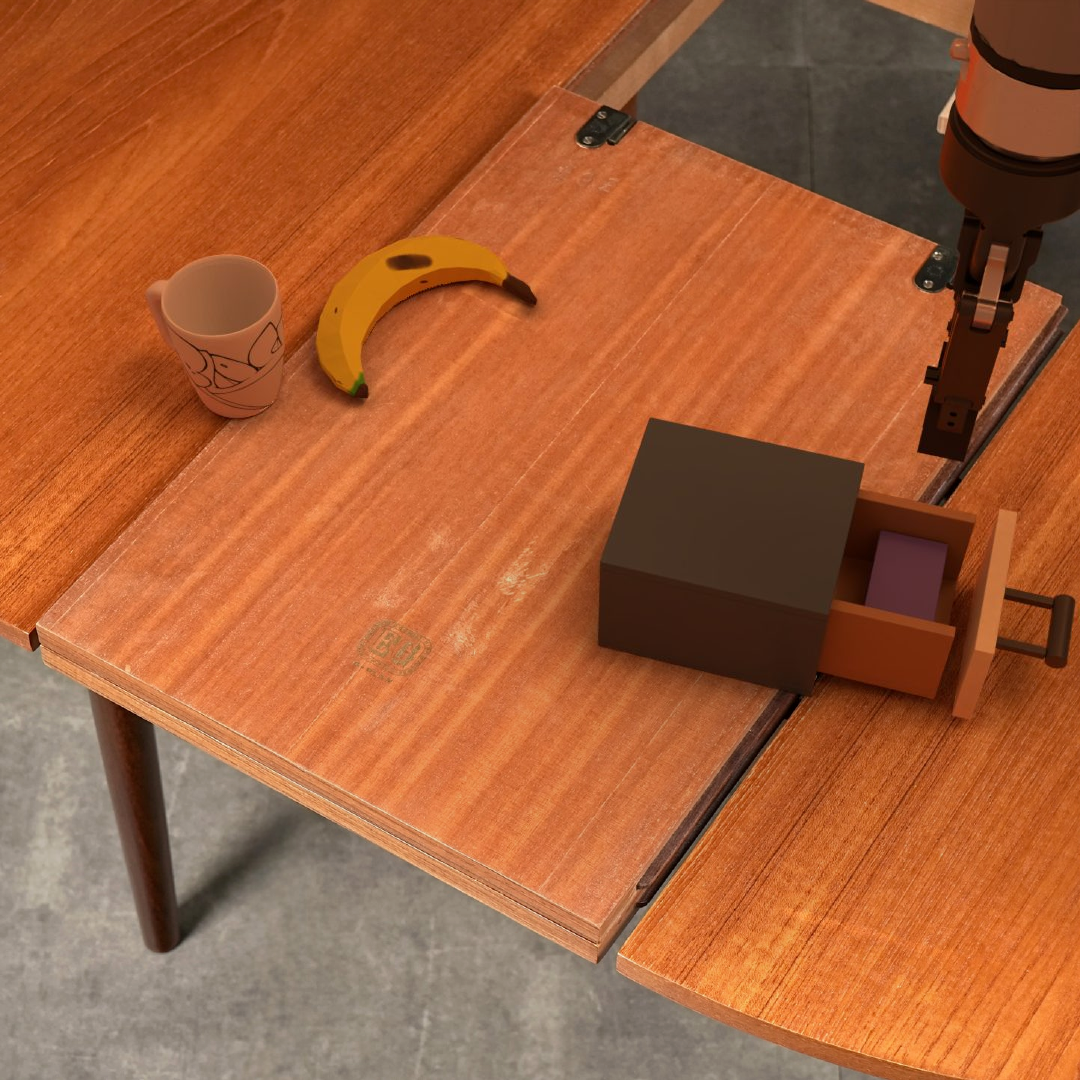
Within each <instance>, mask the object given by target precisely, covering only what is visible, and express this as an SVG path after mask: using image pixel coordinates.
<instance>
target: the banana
mask: <svg viewBox="0 0 1080 1080" xmlns="http://www.w3.org/2000/svg"><path fill="white" fill-rule="evenodd" d="M475 280H476V281H481V282H487V283H491V284H494V285H497V286H500V287H501V288H504V289H505V290H507V291H508V292H510V293H511V294H512V295H514V296H516V297H518V298H520V299H521V300H523V301H525V302H526V303H529V304H530V305H533V306H537V303H538V298H537V297H536V296H535V294H534V292H533V291H532V289H531V286H530V285H528V284H527V283H526V282H525V281H523V280H522V279H519V278H518V277H515V276H513V275H512V274H511V273H510V270H509V268H508V267H507V265H506V263H505V262H504V260H502V258H500V257H499V256H498V255H497V254H495V253H494V252H493V251H492V250H490V249H489V248H488V247H486V246H483V245H481V244H478V243H476V242H473V241H470V240H468V239H465V238H462V237H455V236H447V235H441V234H433V233H432V234H426V235H421V236H414V237H407V238H403V239H399V240H396V241H395V242H393V243H390V244H388V245H386V246H385V247H382V248H380V249H378V250H376V251H374V252H372V253H369V254H368V255H366V256H364V257H362V258H361V259H360V261H358V262H357V263H356V264H355V265H354V266H353V267H352V268H351V269H350V270H349V271H348V272H347V273H345V275H344V276H343V277H341V279H340V280H339V281H338V282H337V283H336V284H335V285H334V286H333V288H332V290H331V292H330V293H329V294H330V295H329V296H328V298H327V300H326V302H325V304H324V307H323V309H322V311H321V313H320V316H319V321H318V327H317V332H316V337H315V344H314V345H315V350H316V353H317V358H318V363H319V366H320V367H321V369H322V370H323V371H324V373H325V374H326V375H327V377H328V378H329V380H331V382H332V383H333V385H334V386H335V387H336V388H338V389H340V390H341V391H344V392H345V393H347V394H349V395H350V396H352V397H354V398H356V399H363V400H364V399H365V400H366V399H368V398H369V396H370V395H369V385H367V384H366V380H365V376H364V375H365V374H364V370H363V364H362V350H363V348H364V345H365V343H364V342H367V340H368V338H369V337H370V335H371V333H372V332H371V331H373V330H374V328H375V327H374V326H376V325H377V323H378V322H379V321H380V320H381V319H382V318H383V317H384V316H385V315H386V314H387V313H389V312H390V311H391V310H392V309H393V308H394V307H395V306H396V305H397V304H399V303H400V301H401V302H403V301H404V300H407V299H408V298H410V297H412V296H414V295H415V294H417V293H419V291H420V292H422V290H423V291H426V290H428V289H427V288H429V289H431V288H430V287H432V288H435V287H437V286H436V285H439V286H442V285H441V284H443V285H447V284H451V282H452V283H456V282H465V281H466V282H467V281H475ZM434 286H435V287H434ZM425 289H426V290H425ZM413 294H414V295H413ZM411 295H412V296H411ZM409 296H410V297H409ZM407 297H408V298H407ZM402 300H403V301H402ZM398 302H399V303H398ZM396 303H397V304H396ZM394 305H395V306H394ZM393 306H394V307H393ZM392 307H393V308H392ZM391 308H392V309H391ZM390 309H391V310H390ZM389 310H390V311H389ZM386 312H387V313H386ZM385 313H386V314H385ZM384 314H385V315H384ZM383 315H384V316H383ZM382 316H383V317H382ZM381 317H382V318H381ZM380 318H381V319H380ZM379 319H380V320H379ZM378 320H379V321H378ZM377 321H378V322H377ZM376 322H377V323H376ZM375 324H376V325H375ZM373 327H374V328H373ZM372 329H373V330H372ZM370 332H371V333H370ZM369 334H370V335H369ZM366 339H367V340H366ZM363 344H364V345H363ZM361 349H362V350H361Z"/></svg>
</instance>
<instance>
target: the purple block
mask: <svg viewBox="0 0 1080 1080" xmlns="http://www.w3.org/2000/svg"><path fill="white" fill-rule="evenodd" d="M947 549H948V544H944V543H939V542H935V541H930V540H925V539H921V538H916V537H912V536H907V535H902V534H898V533H893V532H888V531H884V530H881V531H880V534H879V538H878V542H877V546H876V551H875V555H874V559H873V563H872V567H871V572H870V577H869V581H868V586H867V590H866V595H865V599H864V604H863V606H866V607H871V608H875V609H879V610H884V611H888V612H892V613H897V614H901V615H905V616H910V617H914V618H918V619H923V620H927V621H931V622H934V619H935V614H936V609H937V603H938V598H939V592H940V587H941V582H942V576H943V571H944V566H945V560H946V555H947Z"/></svg>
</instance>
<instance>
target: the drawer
mask: <svg viewBox="0 0 1080 1080" xmlns="http://www.w3.org/2000/svg"><path fill="white" fill-rule="evenodd" d="M977 517H978V516H977V514H976V513H972V512H968V511H963V510H958V509H954V508H949V507H945V506H940V505H935V504H931V503H926V502H922V501H916V500H913V499H908V498H903V497H899V496H894V495H891V494H885V493H881V492H876V491H871V490H866V489H862V488H860V489H859V492H858V496H857V500H856V504H855V508H854V513H853V517H852V521H851V525H850V529H849V534H848V538H847V542H846V546H845V550H844V554H843V559H842V563H841V567H840V571H839V575H838V579H837V584H836V588H835V592H834V596H833V600H832V605H831V609H830V613H829V618H828V622H827V627H826V631H825V636H824V641H823V645H822V650H821V655H820V659H819V664H818V669H817V673H818V672H819V673H824V674H827V675H830V676H835V677H839V678H843V679H848V680H852V681H857V682H861V683H864V684H869V685H873V686H877V687H881V688H885V689H890V690H894V691H898V692H902V693H906V694H911V695H915V696H918V697H924V698H928V699H931V700H935V697H936V695H937V691H938V689H939V685H940V682H941V679H942V677H943V673H944V670H945V667H946V665H947V661H948V658H949V655H950V652H951V648H952V645H953V642H954V639H955V634H956V630H957V627H956V626H953V625H950V621H951V617H952V611H953V606H954V599H955V594H956V588H957V583H958V579H959V576H960V573H961V570H962V567H963V564H964V560H965V558H966V554H967V551H968V548H969V545H970V541H971V538H972V535H973V532H974V528H975V526H976V522H977ZM1017 520H1018V512H1017V511H1013V510H1008V509H1004V508H999V509H998V511H997V515H996V517H995V521H994V524H993V527H992V530H991V532H990V536H989V539H988V542H987V545H986V548H985V551H984V554H983V556H982V559H981V563H980V566H979V569H978V572H977V575H976V579H975V583H974V590H973V594H972V599H971V600H972V601H971V606H970V612H969V616H968V623H967V630H966V633H965V634H966V635H965V640H964V645H963V651H962V657H961V661H960V662H961V663H960V667H959V673H958V677H957V685H956V690H955V695H954V701H953V707H952V713H951V716H952V717H957V718H960V719H966V720H971V719H972V716H973V714H974V712H975V709H976V706H977V703H978V700H979V697H980V694H981V692H982V689H983V686H984V684H985V681H986V678H987V675H988V674H989V673H988V672H989V670H990V668H991V664H992V662H993V658H994V656H995V653H996V649H997V650H1001V651H1005V652H1009V653H1010V652H1011V653H1014V654H1018V655H1023V656H1028V657H1031V658H1036V659H1040V660H1043V661H1044V664H1045V665H1046V666H1047V667H1049V668H1051V669H1057V670H1059V669H1064V668H1066V666H1067V665H1068V661H1069V652H1070V648H1071V647H1070V645H1071V639H1072V631H1073V623H1074V615H1075V608H1076V599H1075V598H1074V597H1073V596H1072V595H1069V594H1064V593H1059V594H1057V595H1055V596H1053V597H1052V596H1047V595H1042V594H1038V593H1034V592H1029V591H1024V590H1019V589H1015V588H1012V587H1007V580H1008V574H1009V569H1010V564H1011V563H1010V562H1011V557H1012V550H1013V544H1014V539H1015V533H1016V527H1017ZM881 530H884V531H888V532H893V533H898V534H902V535H907V536H912V537H916V538H921V539H925V540H930V541H935V542H939V543H944V544H948V549H947V555H946V560H945V566H944V571H943V576H942V582H941V587H940V592H939V598H938V603H937V609H936V614H935V619H934V622H931V621H927V620H923V619H918V618H914V617H910V616H905V615H901V614H897V613H892V612H888V611H884V610H879V609H875V608H871V607H866V606H863V604H864V599H865V595H866V590H867V586H868V581H869V577H870V572H871V567H872V563H873V559H874V555H875V551H876V546H877V542H878V538H879V534H880V531H881ZM1004 600H1005V601H1009V602H1014V603H1018V604H1024V605H1027V606H1031V607H1036V608H1041V609H1045V610H1049V611H1050V618H1049V625H1048V631H1047V638H1046V646H1041V645H1036V644H1032V643H1028V642H1023V641H1019V640H1016V639H1011V638H1006V637H1003V636H999V635H998V634H999V629H1000V623H1001V617H1002V611H1003V606H1004V605H1003V604H1004Z"/></svg>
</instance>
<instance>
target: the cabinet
mask: <svg viewBox="0 0 1080 1080" xmlns="http://www.w3.org/2000/svg"><path fill="white" fill-rule="evenodd" d="M865 466H866V463H865V462H860V461H855V460H851V459H847V458H842V457H838V456H832V455H828V454H823V453H818V452H814V451H809V450H806V449H805V450H804V449H801V448H796V447H791V446H787V445H781V444H777V443H773V442H767V441H762V440H758V439H753V438H750V437H744V436H740V435H735V434H731V433H726V432H721V431H716V430H711V429H706V428H703V427H697V426H693V425H689V424H684V423H679V422H674V421H670V420H665V419H660V418H655V417H651V416H649V418H648V421H647V425H646V427H645V430H644V433H643V435H642V438H641V441H640V444H639V447H638V450H637V453H636V456H635V459H634V462H633V464H632V467H631V470H630V473H629V476H628V479H627V481H626V485H625V488H624V491H623V493H622V497H621V499H620V502H619V505H618V508H617V511H616V513H615V517H614V520H613V522H612V524H611V525H612V526H611V528H610V531H609V534H608V537H607V540H606V542H605V544H604V545H605V546H604V548H603V550H602V551H603V552H602V554H601V558H600V559H599V560H600V561H599V575H598V576H599V580H598V615H597V616H598V617H597V618H598V622H597V646H599V647H601V648H606V649H607V648H608V649H611V650H614V651H619V652H623V653H628V654H632V655H636V656H640V657H644V658H648V659H652V660H656V661H660V662H665V663H669V664H673V665H677V666H682V667H685V668H689V669H693V670H698V671H702V672H706V673H711V674H714V675H719V676H722V677H725V678H731V679H735V680H739V681H743V682H746V683H752V684H756V685H760V686H763V687H767V688H772V689H777V690H779V691H783V692H788V693H791V694H797V695H802V696H805V697H808V698H809V697H812V695H813V691H814V686H815V683H816V682H815V681H816V678H817V674H818V671H817V669H818V664H819V659H820V655H821V650H822V645H823V641H824V636H825V631H826V627H827V622H828V618H829V613H830V609H831V605H832V600H833V596H834V592H835V588H836V584H837V579H838V575H839V571H840V567H841V563H842V559H843V554H844V550H845V546H846V542H847V538H848V534H849V529H850V525H851V521H852V517H853V513H854V508H855V504H856V500H857V496H858V492H859V489H861V484H862V481H863V476H864V470H865Z"/></svg>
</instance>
